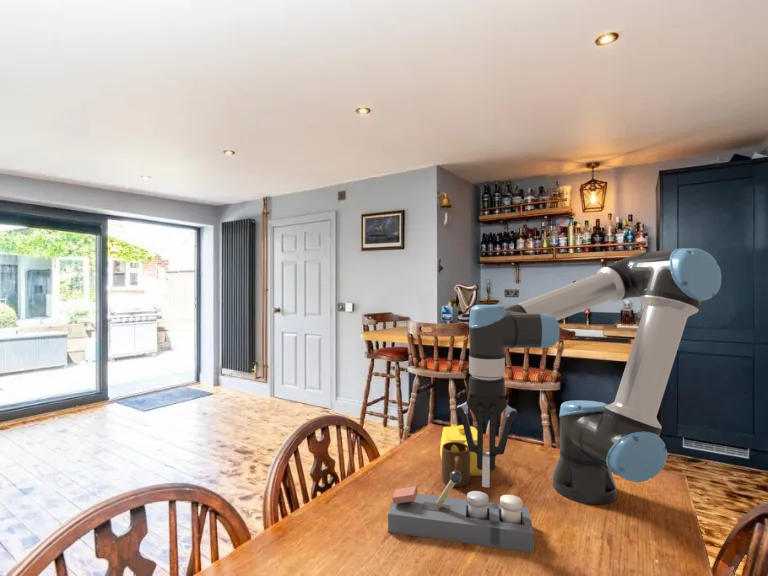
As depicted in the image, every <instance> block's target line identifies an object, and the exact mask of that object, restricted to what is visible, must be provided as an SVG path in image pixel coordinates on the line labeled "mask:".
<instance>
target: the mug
mask: <svg viewBox="0 0 768 576" xmlns="http://www.w3.org/2000/svg"><path fill="white" fill-rule="evenodd" d="M453 445H456V446H457V448H458V449H459V452H452V451H451V447H452V446H453ZM466 448H467V450H466ZM454 470H457V471H459V472H460V473H461V475H462V480H461V481H460V482H459V483H455V485H454V486H453V488H454V487H455V488H462V487H466V486H467V485H468V484H469V483H470V481H471V480H470V479H471V476H470V451H469V449H468V446H467V445H466V444H463V443H458V442H449V443H445V444H444V445H443V446H442V460H441V479H442V483H444V484H446V485H447V484H448V483H449V481H450V480H451V479H450V474H451V472H452V471H454Z"/></svg>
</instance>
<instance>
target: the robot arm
mask: <svg viewBox="0 0 768 576" xmlns="http://www.w3.org/2000/svg"><path fill="white" fill-rule="evenodd" d="M721 271H722V270H721V268H720V266H719V264H718V262H717V260H716V259H715V257H714V256H712V254H710V253H709V252H708V251H706V250H704V249H701V248H696V247H695V248H693V247H692V248H691V247H690V248H685V247H679V248H675V249H668V250H665V249H664V250H657V251H655V250H654V251H646V252H645V251H644V252H640V253H636V254H634V255H630V256H629V257H626V258H623V259H620V260H618V261H616V262H613V263H611V264H608V265H606V266H604V267H601V268H599V269H598V270H597V272H596V274H593V275H591V276H588V277H584V278H583V279H580V280H577V281H575V282H572V283H569V284H566V285H564V286H562V287H558V288H556V289H553V290H551V291H548V292H545V293H543V294H540V295H538V296H535V297H532V298H530V299H527V300H524V301H522V302H519V303H516V304H514V305H511V306H509V307H505V306H503V305H501V304H475V305H473V306H472V307H471V308H470V312H469V321H468V322H469V323H468V328H469V334H468V335H469V339H468V340H469V343H468V344H469V355H468V373H469V374H470V376H469V377H468V396H467V398H466V401H465V402H464V403H462V404H458V405H456V412H457V414H458V415H459V417H460V418H461V422H462V425H463V427H464V432H465V436H466V440H467V444H468V449H469V451H470V452H474V453H476V454H477V468H478V469H480V470H482V475H481V476H482V479H481V483H482V484H481V487H483V488H490V474H491V473H490V471H492V472H495V469H496V457H497V456H498V455H504V454H505V450H506V447H507V442H508V440H509V435H510V433H511V432H510V431H511V428H512V424H513V422H514V420H515V419H516V418H517V416H518V412H517V409H516V408H515V407H511V406H510V405H508V402H507V400H506V397H505V392H506V391H505V390H506V389H505V386H506V385H505V383H506V382H505V381H506V379H505V378H504V376H505V375H506V374H505V372H506V367H505V365H506V349H525V348H526V349H543V348H545V349H546V348H551V347H554V346H556V344H557V343H558V342H559V339H560V335H561V334H560V325H559V322H558V321H560V320H563V319H565V318H567V317H571V316H573V315H575V314H578V313H581V312H583V311H586V310H588V309H591V308H594V307H597V306H598V305H601V304H602V305H603V304H604V303H606V302H614V303H617V302H620V301H622V300H626V299H630V298H631V299H632V298H639V300H640V301H641V303H642V304H643V311H642V314H641V317H640V319H639V323H638V326H637V329H636V332H635V337H634V339H633V342H632V346H631V348H630V351H629V354H628V358H627V361H626V364H625V368H624V371H623V373H622V377H621V379H620V383H619V387H618V389H617V393H616V396H615V399H614V401H613V402H612V403H609V404H608V403H605V402H601V401H596V400H581V399H579V400H578V399H577V400H568V401H564V402H562V403H561V405H560V408H559V415H558V416H559V457H558V460H557V462H556V465H555V468H554V470H553V473H552V481H551V483H552V487H553V488H554V490H555V491H556V492H558V493H559V494H560V495H562V496H564V497H566V498H568V499H570V500H572V501H575V502H580V503H583V504H590V505H604V504H605V505H606V504H610V503H613V502H615V500H616V499H617V485H616V482H615V478H614V476H619V477H621V478H623V479H624V480H626V481H628V482H632V483H643V482H646V481H649V480H650V479H653V478H655V477H657V475H658V474H659V473H661V471H663V469H664V467H665V465H666V463H667V458H668V451H667V448H666V444H665V442H664V441H663V439H662V438H661V437H660V434H661V432H662V425H661V424H660V422H659V420H658V417H657V416H658V414H659V411H660V407H661V403H662V400H663V398H664V395H665V391H666V387H667V384H668V382H669V378H670V374H671V371H672V368H673V366H674V362H675V358H676V356H677V354H678V353H677V351H678V350H679V346H680V343H681V339H682V336H683V333H684V330H685V327H686V324H687V320H688V318H689V317H690V316H693V315H694V314H697V313H698V312H699V310H700V306H701V303H702V301H707V300H710V299H712V298H713V297H714V296H715V295H717V294H718V292H719V290H720V288H721V286H722V272H721ZM469 409H470V411H471V413H472V414H473V415H474V416H475V418H476V419H477V421H476V422H477V423H476V424H477V425H476V426H477V427H476V428H477V429H476V430H477V445H475V444H474V441H473V437H472V432H471V428H470V426H471V425H470V420H469V416H468V413H469ZM504 411H505V412H504ZM503 412H504V416H505V417H504V418H505V419H504V423H503V427H502V429H501V434H500V438H499V440H498V445H497V446H496V421H497V419H498V418H499V417H500V416H501V414H503ZM484 420H488V421H489V422H488V423H489V427H488V428H489V429H488V430H489V432H488V433H489V435H488V442H489V443H488V445H489V446H488V451H485V452H483V442H484ZM613 474H614V476H613Z"/></svg>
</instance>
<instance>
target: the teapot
mask: <svg viewBox="0 0 768 576" xmlns="http://www.w3.org/2000/svg"><path fill="white" fill-rule="evenodd" d="M470 428H471V432H472V437H473V441H474V444H475V445H477V429H476V427H474V426H472V425H470ZM449 442H458V443H463V444H466V445H467V446H468V444H467V440H466V436H465V432H464V427H463V424H461V425H457V424H451V426H443V429H442V435H441V439H440V449H439V451H440V452H439V453H440V460H441V461H442V446H443V445H444V444H445V443H449ZM466 450H467V448H466ZM451 451H452V452H459V449H458V448H457V446H456V445H453V446H452V447H451ZM483 452H486V448H485V442H484V441H483ZM477 476H478V477H479V476H482V470H480V469H478V468H477V454H476V453H474V452H470V477H477Z"/></svg>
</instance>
